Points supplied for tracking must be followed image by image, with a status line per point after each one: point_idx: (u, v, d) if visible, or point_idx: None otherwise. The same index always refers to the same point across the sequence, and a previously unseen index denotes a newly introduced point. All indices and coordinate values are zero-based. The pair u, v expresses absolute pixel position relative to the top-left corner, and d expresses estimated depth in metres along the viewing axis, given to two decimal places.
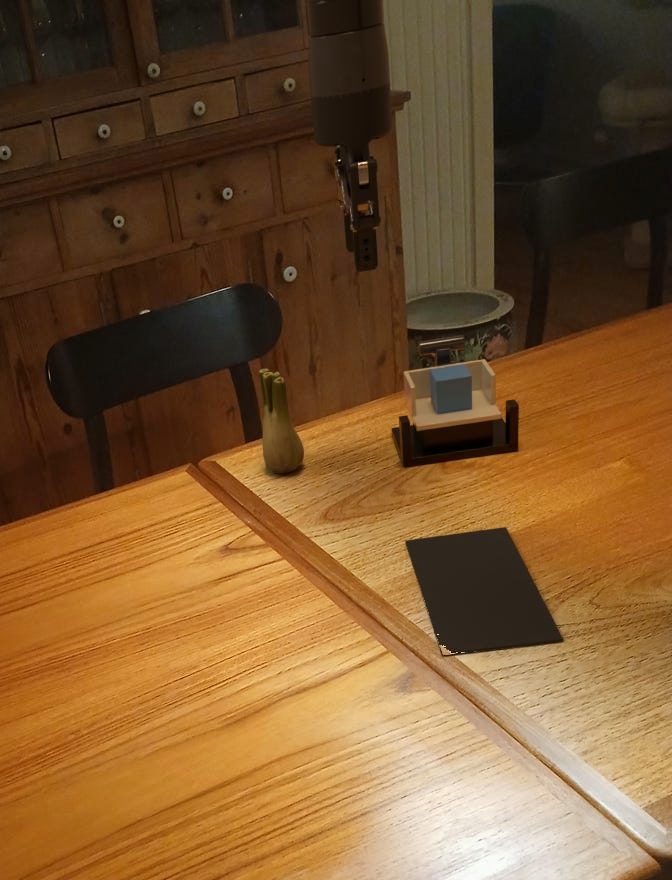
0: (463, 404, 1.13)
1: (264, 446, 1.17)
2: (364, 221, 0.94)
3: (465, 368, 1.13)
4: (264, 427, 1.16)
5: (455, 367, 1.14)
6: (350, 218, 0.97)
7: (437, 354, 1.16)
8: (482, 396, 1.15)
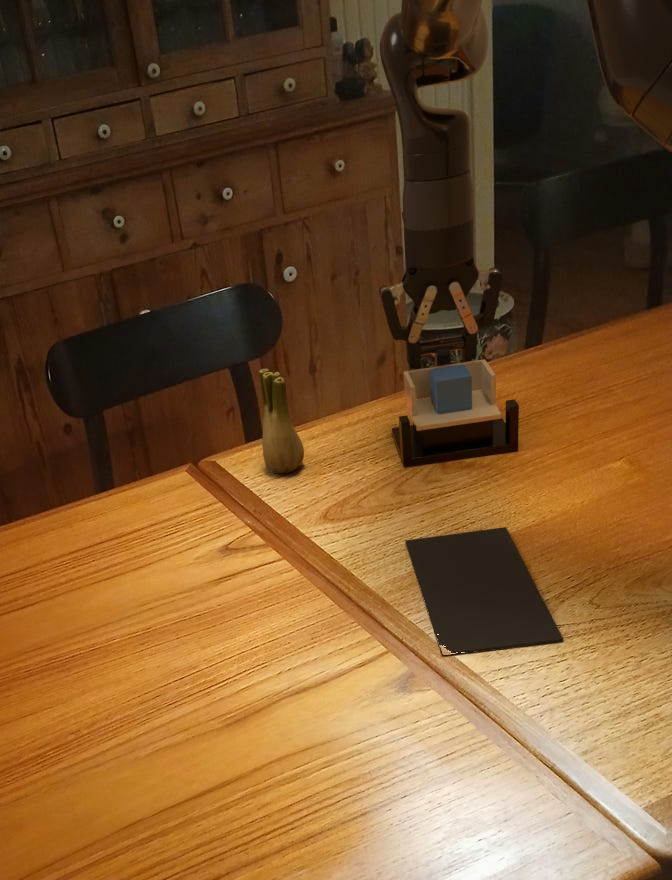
0: (463, 404, 1.13)
1: (264, 446, 1.17)
2: None
3: (465, 368, 1.13)
4: (264, 427, 1.16)
5: (455, 367, 1.14)
6: None
7: (437, 354, 1.16)
8: (482, 396, 1.15)
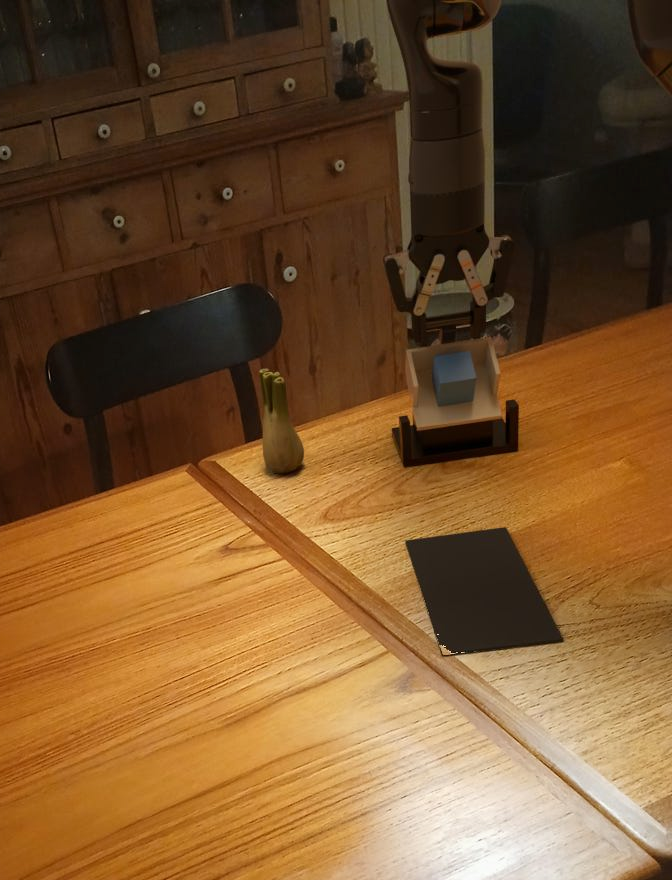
0: (465, 398, 1.11)
1: (264, 446, 1.17)
2: None
3: (470, 360, 1.09)
4: (264, 427, 1.16)
5: (460, 356, 1.10)
6: None
7: (442, 334, 1.10)
8: (484, 376, 1.13)
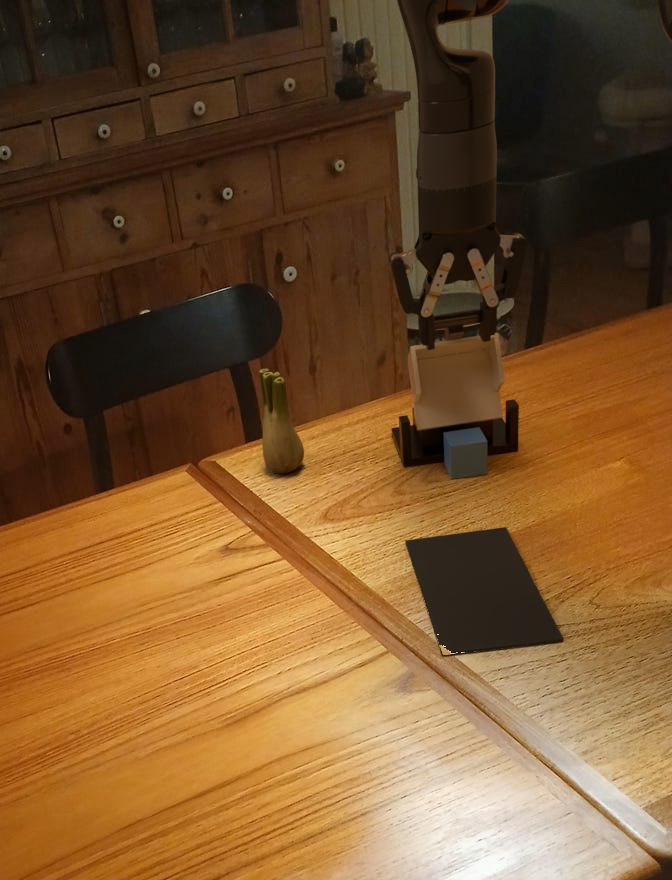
0: None
1: (264, 446, 1.17)
2: (402, 303, 1.04)
3: (485, 453, 1.08)
4: (264, 427, 1.16)
5: (476, 447, 1.07)
6: None
7: (449, 335, 1.07)
8: (487, 367, 1.11)
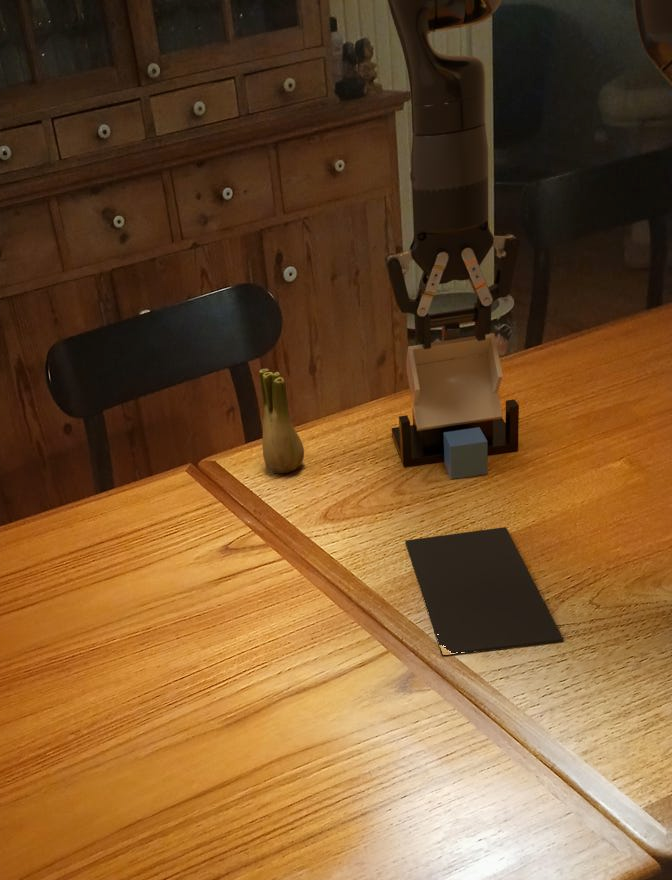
0: None
1: (264, 446, 1.17)
2: None
3: (485, 453, 1.08)
4: (264, 427, 1.16)
5: (477, 447, 1.07)
6: None
7: (445, 333, 1.09)
8: (485, 371, 1.12)
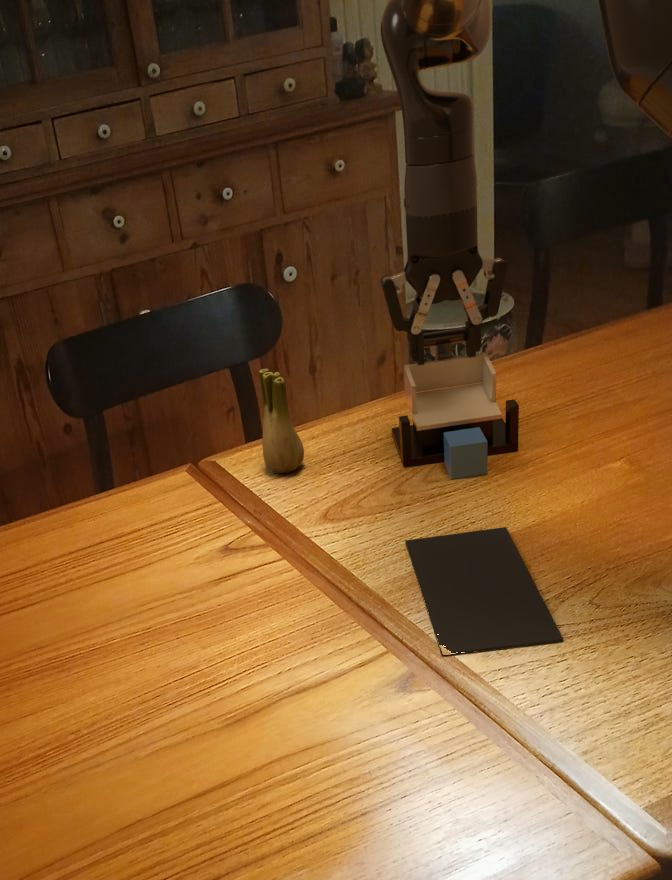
0: None
1: (264, 446, 1.17)
2: None
3: (485, 453, 1.08)
4: (264, 427, 1.16)
5: (477, 447, 1.07)
6: None
7: (438, 348, 1.14)
8: (482, 391, 1.15)
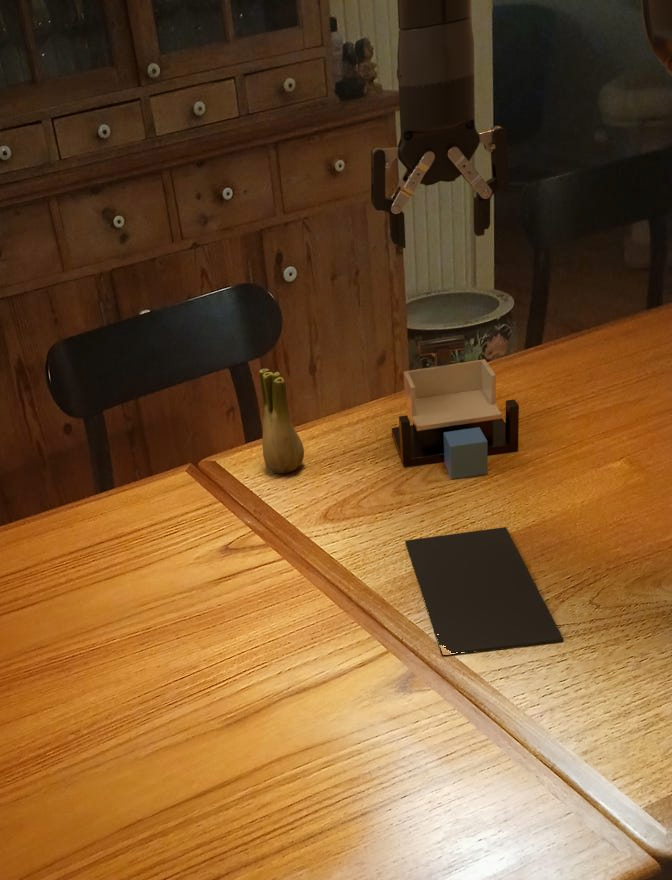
0: None
1: (264, 446, 1.17)
2: (373, 201, 1.07)
3: (485, 453, 1.08)
4: (264, 427, 1.16)
5: (477, 447, 1.07)
6: None
7: (437, 354, 1.16)
8: (482, 396, 1.15)
